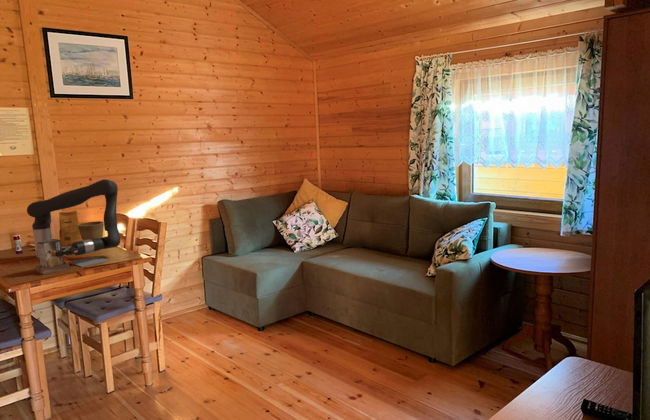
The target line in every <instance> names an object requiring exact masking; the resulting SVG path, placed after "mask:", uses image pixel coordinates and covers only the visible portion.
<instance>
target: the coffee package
mask: <svg viewBox="0 0 650 420" xmlns="http://www.w3.org/2000/svg"><path fill="white" fill-rule="evenodd" d="M78 214H79V213H78V210H77V209H76V210H71V211H58V215H59V217H58V218H59V221H58V222H59V234H58V235H59V236H58V237H59V240H60V241H61V247H63V246H72V243H73V242H77V241H82V237H81V235H80V232H79V229H78V226H77V225H78V224H80V223H79V219H78Z"/></svg>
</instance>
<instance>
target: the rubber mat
mask: <svg viewBox="0 0 650 420" xmlns="http://www.w3.org/2000/svg"><path fill="white" fill-rule="evenodd" d="M105 262H109V259H106V258H103V257H99V256H91V257H87V258H82V259H77V260H74V261H69V262H68V263H69V265H73V266H76V267H79V268H85V267H88V266H93V265H98V264H101V263H105Z"/></svg>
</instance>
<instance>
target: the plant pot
mask: <svg viewBox="0 0 650 420" xmlns="http://www.w3.org/2000/svg"><path fill="white" fill-rule="evenodd" d="M77 226H78V229H79V232H80V236H81V241H83V240H90V239H95V238H103V237H104V221H101V220H98V221H97V220H96V221H87V222H83V223H79V224H78V225H77Z"/></svg>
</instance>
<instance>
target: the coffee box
mask: <svg viewBox="0 0 650 420" xmlns="http://www.w3.org/2000/svg"><path fill="white" fill-rule="evenodd" d="M37 243H38V250H39V256H40V258H39V262H40V265H41V267H42V268H48V267H53V266H57V265H62V264H64V262H65V261H64V255H62V256H55V252H60V251H62V248H61V247H62V245H61V241H60V239H56V238H52V239H51V240H47V241H42V242H37Z"/></svg>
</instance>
